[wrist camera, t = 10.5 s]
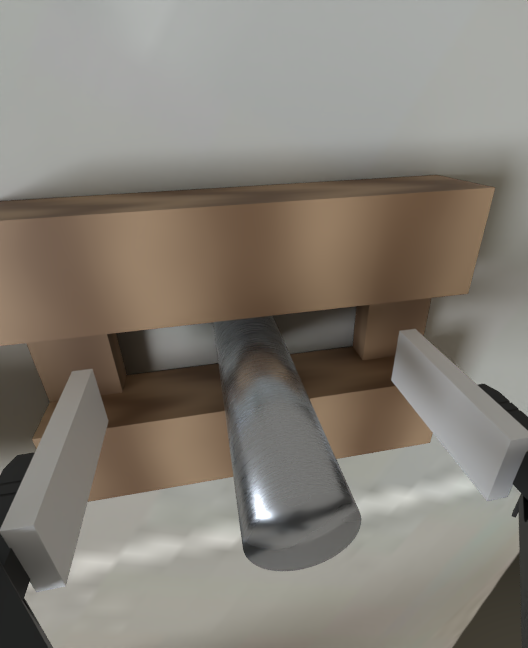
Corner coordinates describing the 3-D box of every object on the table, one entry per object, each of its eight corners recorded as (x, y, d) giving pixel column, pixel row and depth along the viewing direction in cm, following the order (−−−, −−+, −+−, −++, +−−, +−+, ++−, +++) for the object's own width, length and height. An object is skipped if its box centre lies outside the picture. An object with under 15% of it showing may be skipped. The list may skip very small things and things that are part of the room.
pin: (216, 350, 21) (246, 580, 10) (210, 298, 19) (238, 507, 9) (272, 343, 21) (355, 557, 11) (271, 292, 20) (366, 483, 9)
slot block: (81, 445, 22) (62, 506, 19) (-9, 201, 15) (-66, 225, 12) (396, 398, 25) (429, 442, 22) (436, 175, 18) (495, 187, 15)
